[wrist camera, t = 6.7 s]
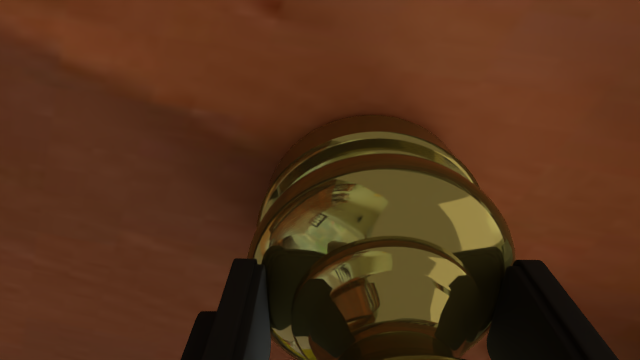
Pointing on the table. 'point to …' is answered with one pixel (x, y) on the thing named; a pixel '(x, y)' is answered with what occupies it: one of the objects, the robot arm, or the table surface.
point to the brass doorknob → (378, 246)
